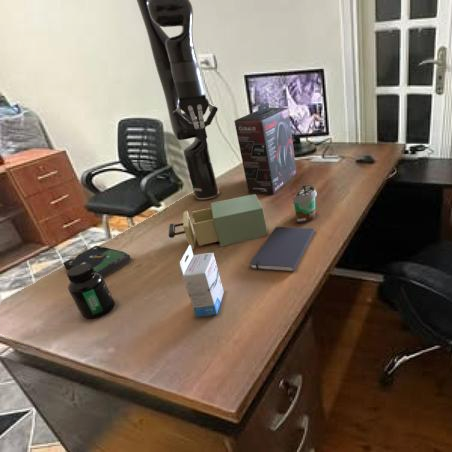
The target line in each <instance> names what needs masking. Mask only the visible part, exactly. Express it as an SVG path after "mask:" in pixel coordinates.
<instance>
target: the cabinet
mask: <svg viewBox="0 0 452 452" xmlns="http://www.w3.org/2000/svg"><path fill="white" fill-rule="evenodd" d="M210 208H212V214H213V219H214V223H215V227H216V231H217V235H218V239H219V241H218V242H219V246H220V247H224V246H229V245H232V244H238V243H241V242H245V241H251V240H254V239H258V238H262V237H267V236H268V229H267V224H266V219H265V214H264V208H263V206H262V204H261V202H260V200H259V198H258V196H257V193H252V194H248V195H244V196H238V197H234V198H233V197H232V198H228V199H224V200H219V201H213V202H210Z"/></svg>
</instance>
